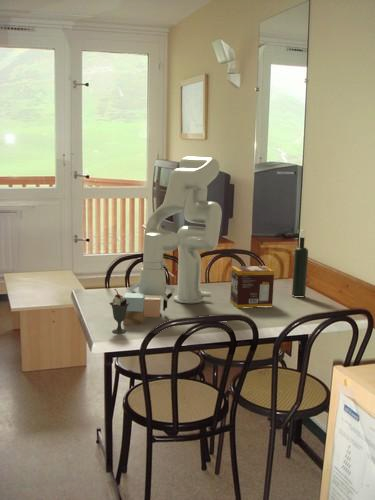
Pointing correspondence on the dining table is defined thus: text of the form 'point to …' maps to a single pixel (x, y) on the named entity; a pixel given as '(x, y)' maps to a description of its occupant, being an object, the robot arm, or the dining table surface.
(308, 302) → the dining table surface
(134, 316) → the block bottom
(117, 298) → the sundae
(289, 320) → the dining table surface
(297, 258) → the wine bottle
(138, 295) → the block top
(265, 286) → the supplement box
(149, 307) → the cube
